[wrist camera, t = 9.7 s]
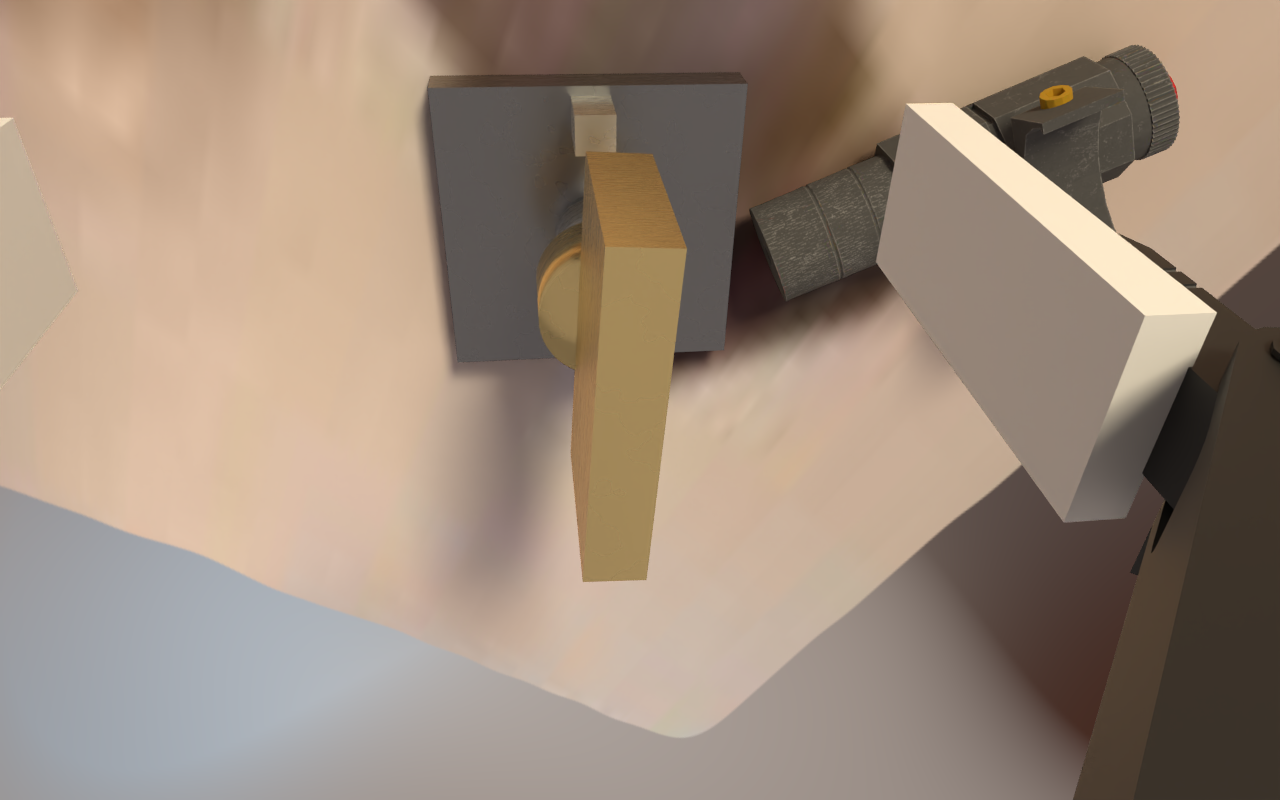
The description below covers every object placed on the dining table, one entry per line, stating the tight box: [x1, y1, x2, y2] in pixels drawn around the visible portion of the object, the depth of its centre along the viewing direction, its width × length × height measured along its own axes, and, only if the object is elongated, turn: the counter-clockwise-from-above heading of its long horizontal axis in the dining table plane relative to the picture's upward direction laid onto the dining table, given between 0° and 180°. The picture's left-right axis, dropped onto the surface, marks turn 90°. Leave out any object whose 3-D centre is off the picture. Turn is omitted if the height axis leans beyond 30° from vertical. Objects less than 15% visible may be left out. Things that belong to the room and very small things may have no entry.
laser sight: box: [750, 45, 1180, 301], centre depth 49 cm, size 10×22×10 cm, turn 112°
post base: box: [428, 73, 748, 362], centre depth 49 cm, size 16×16×7 cm
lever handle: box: [536, 151, 687, 582], centre depth 41 cm, size 6×16×13 cm, turn 175°
